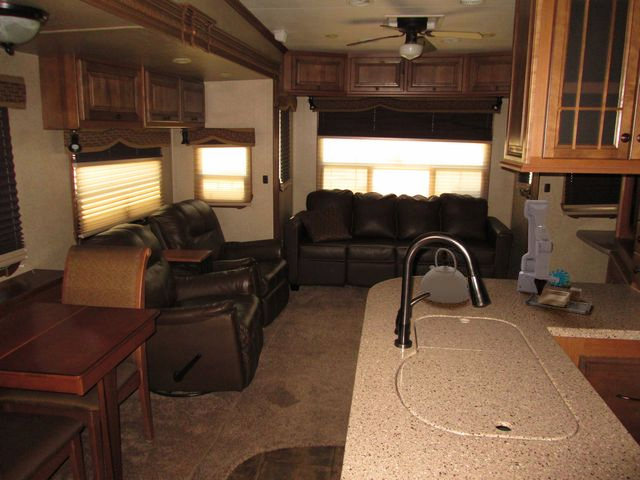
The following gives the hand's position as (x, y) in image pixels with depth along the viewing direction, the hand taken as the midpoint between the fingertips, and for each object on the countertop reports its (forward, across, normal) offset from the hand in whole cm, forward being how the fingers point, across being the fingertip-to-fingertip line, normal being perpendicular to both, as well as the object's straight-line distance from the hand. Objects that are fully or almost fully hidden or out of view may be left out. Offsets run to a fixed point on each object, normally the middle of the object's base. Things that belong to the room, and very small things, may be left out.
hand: (539, 295), depth 235 cm
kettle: (+3, -40, -15) cm, 43 cm away
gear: (+3, +3, +34) cm, 34 cm away
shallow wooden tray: (+2, +6, 0) cm, 7 cm away
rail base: (+3, +8, 0) cm, 9 cm away
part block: (+3, +13, +12) cm, 18 cm away
